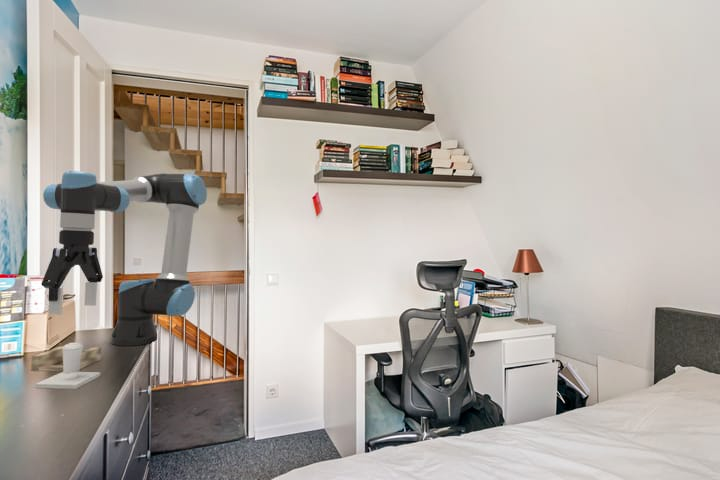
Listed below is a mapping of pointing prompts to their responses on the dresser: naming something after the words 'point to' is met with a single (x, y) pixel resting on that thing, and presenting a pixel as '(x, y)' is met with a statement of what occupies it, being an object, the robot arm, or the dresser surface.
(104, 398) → the dresser surface
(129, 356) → the dresser surface
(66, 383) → the pad
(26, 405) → the dresser surface
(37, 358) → the pocket holder
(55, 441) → the dresser surface
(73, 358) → the milkshake
